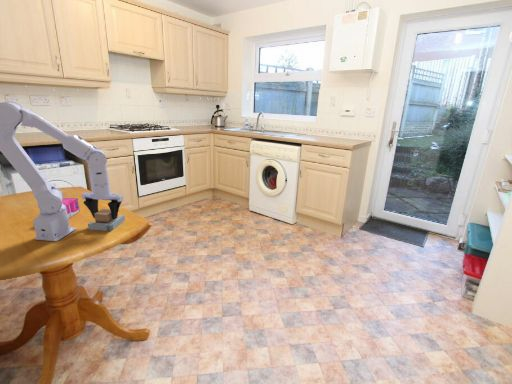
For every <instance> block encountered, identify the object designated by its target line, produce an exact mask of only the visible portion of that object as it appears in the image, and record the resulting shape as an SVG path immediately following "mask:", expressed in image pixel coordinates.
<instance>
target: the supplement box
mask: <svg viewBox="0 0 512 384" xmlns="http://www.w3.org/2000/svg"><path fill="white" fill-rule="evenodd" d="M62 204H63V205H65V206H66V210H67V215H68V220H69V219H70V218H72V217H73V216H75V215H76V214H78V213H79V212H80V211H81V210H80V206H79V198H72V197H71V198H70V197H69V198H68V197H63V199H62Z"/></svg>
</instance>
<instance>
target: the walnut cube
mask: <svg viewBox="0 0 512 384" xmlns="http://www.w3.org/2000/svg"><path fill="white" fill-rule="evenodd" d="M94 215H95V218H94V221H95V223H108V224H109V223H110V222H112V221H113V219H112V215H111V210H110V208H102V209H100V210H98V212H97V213H95V214H94Z"/></svg>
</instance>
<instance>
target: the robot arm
mask: <svg viewBox="0 0 512 384" xmlns="http://www.w3.org/2000/svg"><path fill="white" fill-rule="evenodd" d="M19 125H20V127H29V128H36V129H37V130H38V131H40V132H42V133H44V134H46V135H48V136H50V137H52V138H53V139H55V140H57V141H58V142H60V143H61V145H62V148H63V149H64V150H66V151H67V152H69V153H71V154H73V155H75V156H76V157H77V158H79V159H81V160H85V161H86V163H87V165H88V166H89V168H88V169H89V170H88V174H89V179H90V186H91V191H92V192H83V193H81V198H82V200H84V201H83V205H84V206H86V208H87V209H88V210H89V212H90V214H91V216H92V218H93V219H95V215H94V214H95V213H97V212H98V211H99V201H110V202H108V203H107V205H108V207H109V208H108V209H110V210H111V215H112V219H113V220H115V219H116V218H117V217H119V216H118V215H119V214H118V213H119V211H120V210H119V209H120V207H121V205H122V202H123V200H124V197H123V194H117V193H113V192H111V185H110V176H109V171H108V169H107V168H108V166H107V162H108V159H107V156H106V154H105V152H104V151H103V150H101V149H100V148H99V147H97V146H96V145H95V144H93V145H92V144H91V143H89V142H87V140H84V137H83V136H82V135H77V134H67V133H66V132H65V131H63V130H61V129H60V128H58V127H57V126H55V125H54V124H53V123H51V122H50V121H49V120H47V119H45V118H43V117H42V116H41V115H40V114H37V113H36V112H34V111H33V110H30V109H28V108H27V107H23V106H22V105H21V104H19V103H17V102H16V101H14V102H13V101H5V102H0V153H2V155H3V156H4V157H5V159H6V160H7V161H8V162H9V163H10V164H11V165H12V168H14V169H15V171H16V173H18V175H19V176H20V177H21V178H22V179H23V181H24V182H25V183H26V184H27V185H28V186H29V188H30V189H31V192H32V194H33V197H34V198H35V200H36V202H37V208H38V209H39V214H38V215H37V216H36V217H34V219H33V222H32V223H33V227H34V232H35V236H36V237H34V239H35V240H37V241H46V242H47V241H50V242H57V241H60V240H61V239H63V238H64V237H66V236H68V235H69V234H71V233H73V232H74V231H77V227H72V226H70V221H69V219H68V215H67V210H66V206H65V205H63V204H62V199H63V198H64V193H63V191H62V190H61V189H60V188H57V187H56V186H54V185H53V183H52V182H51V181H49V180H47V178H46V177H45V175H44V174H43V173H42V172H41V171H40V169H39V168H38V167H37V165H36V164H35V162H34V161H33V160H32V158H31V157H30V155H28V153H27V152H26V150H25V149H24V148H23V147H22V145H21V144H20V142H18V140H17V139H16V137H15V135H16V133H17V129H18V127H19Z"/></svg>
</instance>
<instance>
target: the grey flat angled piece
mask: <svg viewBox="0 0 512 384" xmlns="http://www.w3.org/2000/svg"><path fill="white" fill-rule="evenodd" d="M124 220H125V221H126V216H125V215H124V214H119V216H117V218H116V219H115V220H113V221H112V222H110V223H109V224H108V223H96V221H95V222H93V221H90V222H89V223H87V228H88V230H92V231H105V232H112V231H113V230H114V229H116V228H117V227H119V225H121V224H123V223H124V222H125V221H124ZM123 221H124V222H123Z"/></svg>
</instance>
